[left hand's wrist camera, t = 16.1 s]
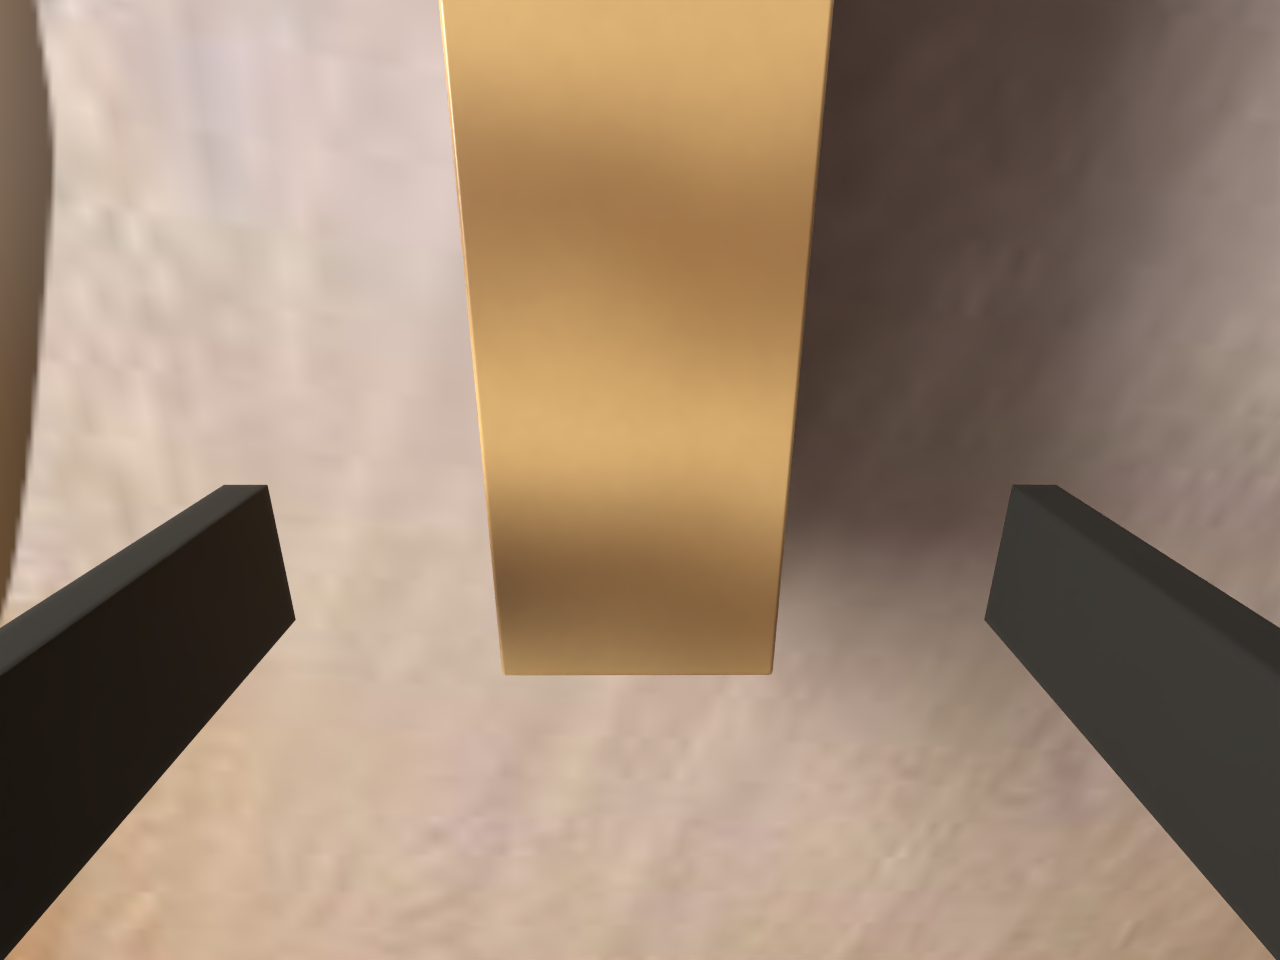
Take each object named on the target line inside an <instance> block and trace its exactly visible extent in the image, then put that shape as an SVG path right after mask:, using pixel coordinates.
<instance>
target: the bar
mask: <svg viewBox="0 0 1280 960" xmlns="http://www.w3.org/2000/svg"><path fill="white" fill-rule="evenodd" d="M833 7H834V0H439V9H440V20H441V30H442V41H443V52H444V62H445V73H446V83H447V94H448V104H449V115H450V126H451V136H452V147H453V157H454V168H455V178H456V189H457V199H458V210H459V221H460V231H461V242H462V252H463V263H464V273H465V284H466V295H467V305H468V316H469V326H470V337H471V347H472V358H473V368H474V379H475V390H476V400H477V411H478V421H479V432H480V442H481V453H482V464H483V474H484V485H485V495H486V506H487V516H488V527H489V538H490V548H491V559H492V569H493V580H494V590H495V601H496V611H497V622H498V633H499V643H500V654H501V664H502V672H503V674H504V675H769V674H771V673H772V671H773V661H774V650H775V639H776V629H777V618H778V607H779V596H780V585H781V574H782V563H783V552H784V541H785V530H786V520H787V509H788V498H789V487H790V476H791V465H792V454H793V443H794V432H795V421H796V410H797V400H798V389H799V378H800V367H801V356H802V345H803V334H804V323H805V312H806V301H807V291H808V280H809V269H810V258H811V247H812V236H813V225H814V214H815V203H816V192H817V182H818V171H819V160H820V149H821V138H822V127H823V116H824V105H825V94H826V83H827V72H828V62H829V51H830V40H831V29H832V18H833Z"/></svg>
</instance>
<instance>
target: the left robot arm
mask: <svg viewBox="0 0 1280 960" xmlns="http://www.w3.org/2000/svg"><path fill="white" fill-rule="evenodd" d="M295 620H296V619H295V615H294V610H293V605H292V600H291V595H290V591H289V586H288V581H287V576H286V572H285V567H284V562H283V557H282V552H281V548H280V543H279V538H278V533H277V528H276V524H275V519H274V514H273V509H272V504H271V500H270V495H269V490H268V485H223V486H222V487H220V488H218V489H217V490H215V491H214V492H212V493H211V494H209V495H207V496H206V497H204V498H203V499H201V500H200V501H198V502H197V503H195V504H193V505H192V506H190V507H189V508H187V509H186V510H184V511H182V512H181V513H179V514H178V515H176V516H175V517H173V518H172V519H170V520H168V521H167V522H165V523H164V524H162V525H161V526H159V527H157V528H156V529H154V530H153V531H151V532H150V533H148V534H147V535H145V536H143V537H142V538H140V539H139V540H137V541H136V542H134V543H132V544H131V545H129V546H128V547H126V548H125V549H123V550H122V551H120V552H118V553H117V554H115V555H114V556H112V557H111V558H109V559H107V560H106V561H104V562H103V563H101V564H100V565H98V566H97V567H95V568H93V569H92V570H90V571H89V572H87V573H86V574H84V575H82V576H81V577H79V578H78V579H76V580H75V581H73V582H72V583H70V584H68V585H67V586H65V587H64V588H62V589H61V590H59V591H57V592H56V593H54V594H53V595H51V596H50V597H48V598H47V599H45V600H43V601H42V602H40V603H39V604H37V605H36V606H34V607H32V608H31V609H29V610H28V611H26V612H25V613H23V614H22V615H20V616H18V617H17V618H15V619H14V620H12V621H11V622H9V623H7V624H6V625H4V626H3V627H1V628H0V960H4V959H5V958H6V956H7V955H8V954H9V953H10V952H11V951H12V949H13V948H14V947H15V946H16V945H17V944H18V942H19V941H20V940H21V939H22V938H23V937H24V935H25V934H26V933H27V932H28V931H29V930H30V928H31V927H32V926H33V925H34V924H35V923H36V921H37V920H38V919H39V918H40V917H41V916H42V914H43V913H44V912H45V911H46V910H47V909H48V907H49V906H50V905H51V904H52V903H53V902H54V900H55V899H56V898H57V897H58V896H59V895H60V894H61V892H62V891H63V890H64V889H65V888H66V887H67V885H68V884H69V883H70V882H71V881H72V880H73V878H74V877H75V876H76V875H77V874H78V873H79V871H80V870H81V869H82V868H83V867H84V866H85V864H86V863H87V862H88V861H89V860H90V859H91V857H92V856H93V855H94V854H95V853H96V852H97V850H98V849H99V848H100V847H101V846H102V845H103V843H104V842H105V841H106V840H107V839H108V838H109V836H110V835H111V834H112V833H113V832H114V831H115V829H116V828H117V827H118V826H119V825H120V824H121V822H122V821H123V820H124V819H125V818H126V817H127V815H128V814H129V813H130V812H131V811H132V810H133V809H134V807H135V806H136V805H137V804H138V803H139V802H140V800H141V799H142V798H143V797H144V796H145V795H146V793H147V792H148V791H149V790H150V789H151V788H152V786H153V785H154V784H155V783H156V782H157V781H158V779H159V778H160V777H161V776H162V775H163V774H164V772H165V771H166V770H167V769H168V768H169V767H170V765H171V764H172V763H173V762H174V761H175V760H176V758H177V757H178V756H179V755H180V754H181V753H182V751H183V750H184V749H185V748H186V747H187V746H188V744H189V743H190V742H191V741H192V740H193V739H194V737H195V736H196V735H197V734H198V733H199V732H200V730H201V729H202V728H203V727H204V726H205V725H206V723H207V722H208V721H209V720H210V719H211V718H212V717H213V715H214V714H215V713H216V712H217V711H218V710H219V708H220V707H221V706H222V705H223V704H224V703H225V701H226V700H227V699H228V698H229V697H230V696H231V694H232V693H233V692H234V691H235V690H236V689H237V687H238V686H239V685H240V684H241V683H242V682H243V680H244V679H245V678H246V677H247V676H248V675H249V673H250V672H251V671H252V670H253V669H254V668H255V666H256V665H257V664H258V663H259V662H260V661H261V659H262V658H263V657H264V656H265V655H266V654H267V652H268V651H269V650H270V649H271V648H272V647H273V645H274V644H275V643H276V642H277V641H278V640H279V638H280V637H281V636H282V635H283V634H284V633H285V632H286V630H287V629H288V628H289V627H290V626H291V625H292V623H293V622H294V621H295ZM984 620H985V621H986V622H987V623H988V625H989V626H990V627H991V628H992V629H993V630H994V632H995V633H996V634H997V635H998V636H999V637H1000V638H1001V640H1002V641H1003V642H1004V643H1005V644H1006V645H1007V647H1008V648H1009V649H1010V650H1011V651H1012V652H1013V654H1014V655H1015V656H1016V657H1017V658H1018V659H1019V661H1020V662H1021V663H1022V664H1023V665H1024V666H1025V668H1026V669H1027V670H1028V671H1029V672H1030V673H1031V675H1032V676H1033V677H1034V678H1035V679H1036V680H1037V682H1038V683H1039V684H1040V685H1041V686H1042V687H1043V689H1044V690H1045V691H1046V692H1047V693H1048V694H1049V696H1050V697H1051V698H1052V699H1053V700H1054V701H1055V703H1056V704H1057V705H1058V706H1059V707H1060V708H1061V710H1062V711H1063V712H1064V713H1065V714H1066V715H1067V717H1068V718H1069V719H1070V720H1071V721H1072V722H1073V723H1074V725H1075V726H1076V727H1077V728H1078V729H1079V730H1080V732H1081V733H1082V734H1083V735H1084V736H1085V737H1086V739H1087V740H1088V741H1089V742H1090V743H1091V744H1092V746H1093V747H1094V748H1095V749H1096V750H1097V751H1098V753H1099V754H1100V755H1101V756H1102V757H1103V758H1104V760H1105V761H1106V762H1107V763H1108V764H1109V765H1110V767H1111V768H1112V769H1113V770H1114V771H1115V772H1116V774H1117V775H1118V776H1119V777H1120V778H1121V779H1122V781H1123V782H1124V783H1125V784H1126V785H1127V786H1128V788H1129V789H1130V790H1131V791H1132V792H1133V793H1134V795H1135V796H1136V797H1137V798H1138V799H1139V800H1140V802H1141V803H1142V804H1143V805H1144V806H1145V807H1146V809H1147V810H1148V811H1149V812H1150V813H1151V814H1152V815H1153V817H1154V818H1155V819H1156V820H1157V821H1158V822H1159V824H1160V825H1161V826H1162V827H1163V828H1164V829H1165V831H1166V832H1167V833H1168V834H1169V835H1170V836H1171V838H1172V839H1173V840H1174V841H1175V842H1176V843H1177V845H1178V846H1179V847H1180V848H1181V849H1182V850H1183V852H1184V853H1185V854H1186V855H1187V856H1188V857H1189V859H1190V860H1191V861H1192V862H1193V863H1194V864H1195V866H1196V867H1197V868H1198V869H1199V870H1200V871H1201V873H1202V874H1203V875H1204V876H1205V877H1206V878H1207V880H1208V881H1209V882H1210V883H1211V884H1212V885H1213V887H1214V888H1215V889H1216V890H1217V891H1218V892H1219V894H1220V895H1221V896H1222V897H1223V898H1224V899H1225V900H1226V902H1227V903H1228V904H1229V905H1230V906H1231V907H1232V909H1233V910H1234V911H1235V912H1236V913H1237V914H1238V916H1239V917H1240V918H1241V919H1242V920H1243V921H1244V923H1245V924H1246V925H1247V926H1248V927H1249V928H1250V930H1251V931H1252V932H1253V933H1254V934H1255V935H1256V937H1257V938H1258V939H1259V940H1260V941H1261V942H1262V944H1263V945H1264V946H1265V947H1266V948H1267V949H1268V951H1269V952H1270V953H1271V954H1272V955H1273V956H1274V958H1275V959H1276V960H1280V628H1279V627H1277V626H1276V625H1274V624H1273V623H1271V622H1269V621H1268V620H1266V619H1265V618H1263V617H1262V616H1260V615H1258V614H1257V613H1255V612H1254V611H1252V610H1251V609H1249V608H1248V607H1246V606H1244V605H1243V604H1241V603H1240V602H1238V601H1237V600H1235V599H1233V598H1232V597H1230V596H1229V595H1227V594H1226V593H1224V592H1223V591H1221V590H1219V589H1218V588H1216V587H1215V586H1213V585H1212V584H1210V583H1208V582H1207V581H1205V580H1204V579H1202V578H1201V577H1199V576H1198V575H1196V574H1194V573H1193V572H1191V571H1190V570H1188V569H1187V568H1185V567H1183V566H1182V565H1180V564H1179V563H1177V562H1176V561H1174V560H1173V559H1171V558H1169V557H1168V556H1166V555H1165V554H1163V553H1162V552H1160V551H1158V550H1157V549H1155V548H1154V547H1152V546H1151V545H1149V544H1148V543H1146V542H1144V541H1143V540H1141V539H1140V538H1138V537H1137V536H1135V535H1133V534H1132V533H1130V532H1129V531H1127V530H1126V529H1124V528H1123V527H1121V526H1119V525H1118V524H1116V523H1115V522H1113V521H1112V520H1110V519H1108V518H1107V517H1105V516H1104V515H1102V514H1101V513H1099V512H1098V511H1096V510H1094V509H1093V508H1091V507H1090V506H1088V505H1087V504H1085V503H1083V502H1082V501H1080V500H1079V499H1077V498H1076V497H1074V496H1073V495H1071V494H1069V493H1068V492H1066V491H1065V490H1063V489H1062V488H1060V487H1058V486H1057V485H1012V490H1011V495H1010V500H1009V504H1008V509H1007V514H1006V519H1005V524H1004V528H1003V533H1002V538H1001V543H1000V548H999V552H998V557H997V562H996V567H995V572H994V576H993V581H992V586H991V591H990V595H989V600H988V605H987V610H986V615H985V619H984Z"/></svg>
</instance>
